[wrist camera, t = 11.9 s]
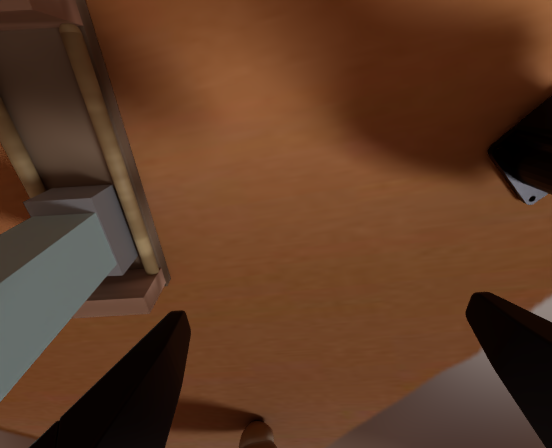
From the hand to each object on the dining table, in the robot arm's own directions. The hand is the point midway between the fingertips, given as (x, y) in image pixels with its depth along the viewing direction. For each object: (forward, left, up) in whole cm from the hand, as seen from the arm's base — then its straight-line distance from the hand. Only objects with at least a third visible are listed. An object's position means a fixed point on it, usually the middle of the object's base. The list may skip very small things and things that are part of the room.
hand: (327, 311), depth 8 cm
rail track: (+11, +9, -13) cm, 20 cm away
